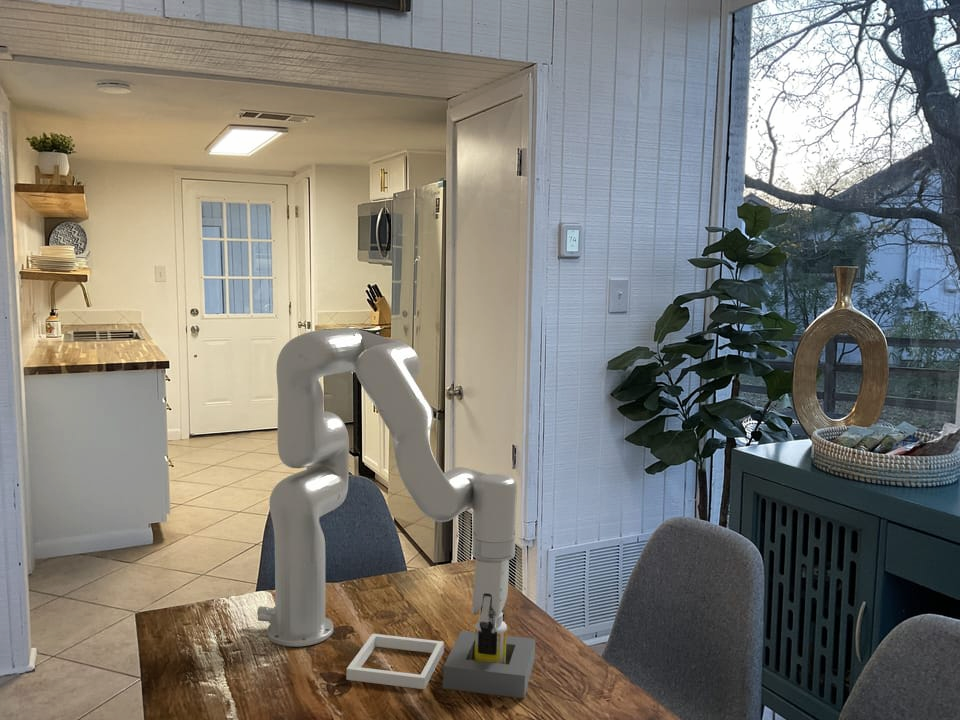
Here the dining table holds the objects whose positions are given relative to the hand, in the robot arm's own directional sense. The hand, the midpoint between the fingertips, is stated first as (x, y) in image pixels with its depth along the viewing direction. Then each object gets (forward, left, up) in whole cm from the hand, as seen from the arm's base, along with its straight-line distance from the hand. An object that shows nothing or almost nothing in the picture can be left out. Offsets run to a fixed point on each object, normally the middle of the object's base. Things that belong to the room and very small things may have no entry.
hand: (491, 643), depth 143 cm
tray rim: (-17, -1, -6) cm, 18 cm away
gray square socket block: (0, 0, -6) cm, 6 cm away
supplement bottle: (0, 0, -5) cm, 5 cm away
